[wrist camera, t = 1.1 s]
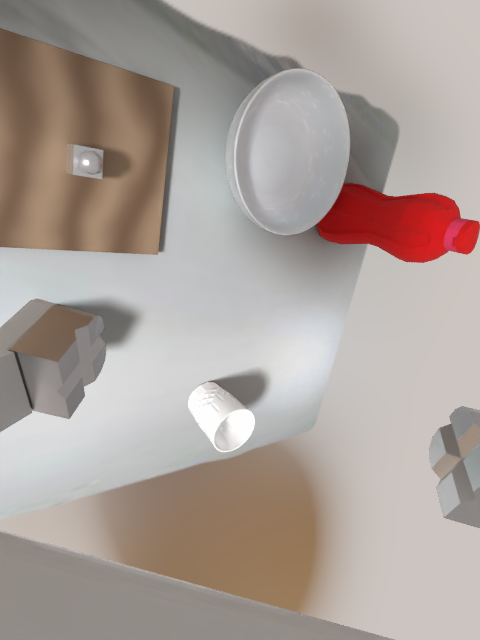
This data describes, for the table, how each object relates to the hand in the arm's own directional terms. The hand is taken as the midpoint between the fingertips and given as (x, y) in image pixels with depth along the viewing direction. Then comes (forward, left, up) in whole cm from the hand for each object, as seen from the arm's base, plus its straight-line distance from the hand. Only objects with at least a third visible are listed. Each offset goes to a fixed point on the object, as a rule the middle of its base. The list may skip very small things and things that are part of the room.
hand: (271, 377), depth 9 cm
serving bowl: (+25, +22, -43) cm, 54 cm away
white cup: (+38, -17, -43) cm, 60 cm away
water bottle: (+43, +24, -43) cm, 65 cm away
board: (+3, +6, -43) cm, 44 cm away
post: (+3, +6, -42) cm, 42 cm away
